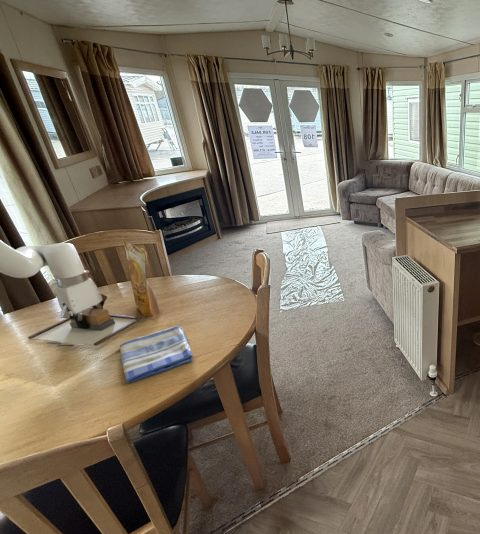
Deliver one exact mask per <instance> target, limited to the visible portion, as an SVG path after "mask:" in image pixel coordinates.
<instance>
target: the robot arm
mask: <svg viewBox="0 0 480 534" xmlns="http://www.w3.org/2000/svg"><path fill="white" fill-rule="evenodd" d="M44 267H48V269H49V271H50V273H51V275H52V277H53V279H54V281H55V283H56V285H57V286H55V288H54V289H55V295H56V296H55V297H56V300H57V302H58V304H59V308H60V310H61V313H60V315H59V318H60V319H72V320H75V321H76V324H77V326H78V327H79V328H80V329H88V328H89V326H88V324H87V322H86V320H85V319H83V317H82V311H84V310H86V309H88V308H96V309H104V305H105V302H106V300H107V299H108V296H107V295H105V294H102V293H101V291H100V290H99V287H98V286H97V285H96V283H95V282H94V280H92V278H91V277H89V275H88V274H90V273H91V272H90V271H89V269H86V268H85V267H84V264H83V263H82V261H81V257H80V256H79V253H78V251H77V249H76V247H75V245H74V244H72V243H70V242H60V243H59V242H58V243H53V244H49V245H46V244H45V245H23V246H20V247H18V248H16V249H15V248H14V247H11V246H10V245H8V244H6V242H4V241H2V240H1V239H0V273H1V274H3V275H6V276H9V277H12V278H16V279H25V278H26V279H27V278H30V277H33V276H35V275H36V274H38V273H39V272H40V271H41V269H42V268H44ZM69 312H71V315H68V313H69Z"/></svg>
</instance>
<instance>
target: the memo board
mask: <svg viewBox="0 0 480 534" xmlns="http://www.w3.org/2000/svg"><path fill="white" fill-rule="evenodd" d="M109 315H110V317H111V318H112V319H114V321H115V324H113V325H111V326H109V327H107V328H106V329H104V330H102V331H99V330H89V329H79V328H72V327H71V325H70V323H71V321H70V319H66V318H63V319H62V320H61V321H58V322H56V323H54V324H51V325H50V326H48V327H46V328H43V329H42V330H39V331H37V332H35V333H33V334H31V335H29V336H28V337H27V338H28V339H29V340H30V339H31V340H41V341H48V342H58V343H68V344H76V345H85V346H86V345H87V346H95V347H97V346H99V345H100V344H102V343H104V342H106V341H107V340H109V339H111V338H112V337H114V336H116V335H118V334H120V333H121V332H123V331H124V330H126V329H128V328H130V327H131V326H133V325H135V324H136V323H138V322H140V321H141V320H143V319H144V317H143V316H136V315H125V314H115V313H109Z"/></svg>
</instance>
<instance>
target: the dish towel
mask: <svg viewBox="0 0 480 534" xmlns="http://www.w3.org/2000/svg"><path fill="white" fill-rule="evenodd" d="M119 347H120V349H119V350H120V360H121V365H122V371H123V374H124V379H125V384H130V383H134V382H136V381H141V380H142V379H146V378H148V377H151V376H154V375H157V374H159V373H162V372H166V371H169V370H172V369H173V368H177V367H179V366H182V365H185V364H188V363H190V362H192V361H193V359H192V358H194V355H193V353H192V350H191V346H190V345H189V343H188V340H187V338H186V335H185V333H184V328H183V326H181V325H174V326H172V327H168V328H165V329H161V330H158V331H154V332H151V333H149V334H145V335H143V336H137V337H134V338H131V339H129V340H126V341H123V342H122V343H121V344H120V345H119Z"/></svg>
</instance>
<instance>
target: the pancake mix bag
mask: <svg viewBox="0 0 480 534" xmlns="http://www.w3.org/2000/svg"><path fill="white" fill-rule="evenodd" d="M121 242H122V245H123V247H124V251H125V256H126V259H127V263H128V269H129V278H130V283H131V288H132V293H133V294H132V295H133V297H134V298H133V299H134V303H135V307H136V308H137V309H138V310H139V311H140V312H141V314H142V315H143V316H145V317H150V316H151V317H155V316H156V315H157V313H158V312H159V311H160V310H159V309H160V308H159V303H158V299H157V297H156V295H155V294H156V293H155V292H154V290H153V288H152V287H151V284H150V282H149V281H148V279H147V277H148V276H147V259H148V252H147V250H145V249H144V248H143V247H141V246H138V245H136V244H134V242H130V241H128V240H126V239H122V240H121Z"/></svg>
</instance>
